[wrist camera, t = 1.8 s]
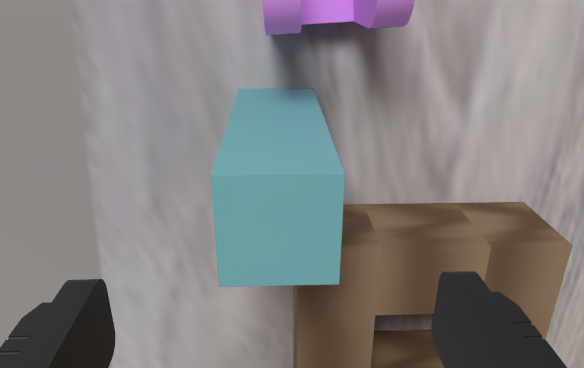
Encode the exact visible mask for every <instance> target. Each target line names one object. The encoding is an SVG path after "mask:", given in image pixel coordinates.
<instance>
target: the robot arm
mask: <svg viewBox="0 0 584 368" xmlns="http://www.w3.org/2000/svg"><path fill="white" fill-rule="evenodd" d="M432 336H433V341H434V345H435V348H436V351H437V353H438V355H439V357H440V359H441V361H442V364H443V366H444V368H567V367H566V366H565V364H564V363H563V362H562V360H561V359H560V358H559V357H558V355H557V354H556V353H555V351H554V350H553V349H552V348H551V346H550V345H549V344H548V342H547V341H546V340H545V339H543V338H542V335H541V333H540V332H539V331H538V330H537V328H536V327H535V326H534V325H532V322H531V321H530V319H529V318H528V317H527V315H526V314H525V313H524V312H523V310H522V309H521V308H520V306H519V305H517V304H516V303H515V302H513V301H512V300H510V299H509V298H508V297H506V296H505V295H503V294H502V293H501V292H491V291H490V290H489V288H488V287H487V285H486V284H485V283H484V281H483V280H482V278H481V277H480V276H479V274H478V273H477V272H475V271H455V272H442V274H441V275H440V278H439V283H438V289H437V295H436V301H435V308H434V314H433V320H432ZM114 347H115V329H114V324H113V318H112V313H111V308H110V303H109V297H108V292H107V287H106V284H105V282H104V281H103V280H102V279H93V280H92V279H89V280H68V281H67V282H66V283H65V284H64V285H63V286H62V288H61V290H60V291H59V292H58V294H57V295H56V297H55V298H54V300H53V301H52V303H41V304H40V305H39V306H37V307H36V308H35V309H33V310H32V311H31V312H29V313H28V314H27V315H25V316H24V317H23V318H22V319H21V320H20V322H19V323H18V325H17V326H16V327H15V328H14V330H13V331H12V332H11V334H10V335H9V339H8V340H6V341H5V342H4V343H3V345H2V346H1V347H0V368H108V367H109V364H110V362H111V359H112V357H113V353H114Z"/></svg>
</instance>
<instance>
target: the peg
mask: <svg viewBox="0 0 584 368" xmlns="http://www.w3.org/2000/svg"><path fill="white" fill-rule="evenodd" d="M344 183H345V173H344V170H343V167H342V165H341V162H340V159H339V157H338V154H337V151H336V148H335V146H334V143H333V140H332V138H331V135H330V132H329V130H328V127H327V124H326V122H325V119H324V116H323V113H322V111H321V108H320V105H319V103H318V100H317V97H316V95H315V92H314V89H239V90H238V93H237V96H236V100H235V103H234V106H233V109H232V112H231V115H230V118H229V121H228V124H227V127H226V130H225V133H224V136H223V139H222V143H221V146H220V149H219V152H218V155H217V158H216V161H215V164H214V167H213V170H212V173H211V186H212V199H213V212H214V226H215V239H216V252H217V265H218V279H219V287H234V286H283V285H331V284H339V278H340V259H341V240H342V221H343V202H344Z"/></svg>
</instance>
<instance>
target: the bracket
mask: <svg viewBox="0 0 584 368" xmlns="http://www.w3.org/2000/svg"><path fill="white" fill-rule="evenodd" d="M413 5H414V0H263V10H264V21H265V30H266V35H277V34H292V33H301V25H303V24H319V23H335V22H350V21H354V22H356V23H358V24H360V25H362V26H364V27H366V28H369V29H370V28H385V27H401V26H405V25H406V24H407V23H408V21H409V19H410V16H411V13H412V9H413Z"/></svg>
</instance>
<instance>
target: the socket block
mask: <svg viewBox="0 0 584 368" xmlns="http://www.w3.org/2000/svg"><path fill="white" fill-rule="evenodd" d="M571 248H572V244H570V243H569V242H568V241H567V240H566V239H565V238H564V237H562V236H561V235H560V234H559V233H558V232H557V231H556V230H555V229H553V228H552V227H551V226H550V225H549V224H548V223H547V222H545V221H544V220H543V219H542V218H541V217H540V216H539V215H537V214H536V213H535V212H534V211H533V210H532V209H531V208H530V207H528V206H527V205H526V204H525V203H524V202H502V203H432V204H362V205H343V221H342V240H341V259H340V278H339V284H331V285H294V368H444V366H443V364H442V361H441V359H440V357H439V355H438V353H437V351H436V348H435V345H434V341H433V336H432V330H417V331H375V332H374V325H375V315H413V314H434V308H435V301H436V295H437V289H438V283H439V278H440V275H441V274H442V272H455V271H475V272H477V273H478V274H479V276H480V277H481V278H482V280H483V281H484V283H485V284H486V285H487V287H488V288H489V290H490V291H491V292H501V293H502V294H503V295H505V296H506V297H508V298H509V299H510V300H512V301H513V302H515V303H516V304H517V305H519V306H520V308H521V309H522V310H523V312H524V313H525V314H526V315H527V317H528V318H529V319H530V321H531V322H532V325H534V326H535V327H536V328H537V330H538V331H539V332H540V333H541V335H542V338H543V339H545V338H546V335H547V331H548V328H549V324H550V321H551V317H552V314H553V311H554V307H555V304H556V300H557V297H558V293H559V290H560V286H561V283H562V279H563V276H564V273H565V269H566V266H567V262H568V259H569V255H570V252H571Z"/></svg>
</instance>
